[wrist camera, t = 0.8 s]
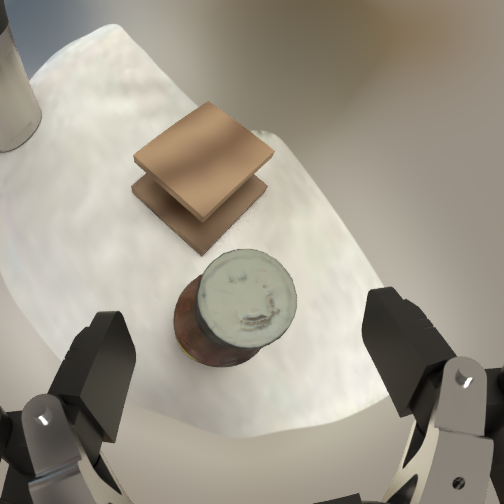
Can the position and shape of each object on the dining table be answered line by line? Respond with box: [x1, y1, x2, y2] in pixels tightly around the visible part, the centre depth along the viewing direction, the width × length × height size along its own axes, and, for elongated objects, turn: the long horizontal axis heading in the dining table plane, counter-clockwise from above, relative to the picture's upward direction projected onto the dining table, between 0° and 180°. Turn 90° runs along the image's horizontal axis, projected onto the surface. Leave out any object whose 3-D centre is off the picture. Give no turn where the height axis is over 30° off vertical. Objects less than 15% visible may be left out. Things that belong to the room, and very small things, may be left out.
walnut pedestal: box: [131, 102, 275, 256], centre depth 30 cm, size 11×11×8 cm
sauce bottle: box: [174, 249, 297, 367], centre depth 21 cm, size 7×6×20 cm
